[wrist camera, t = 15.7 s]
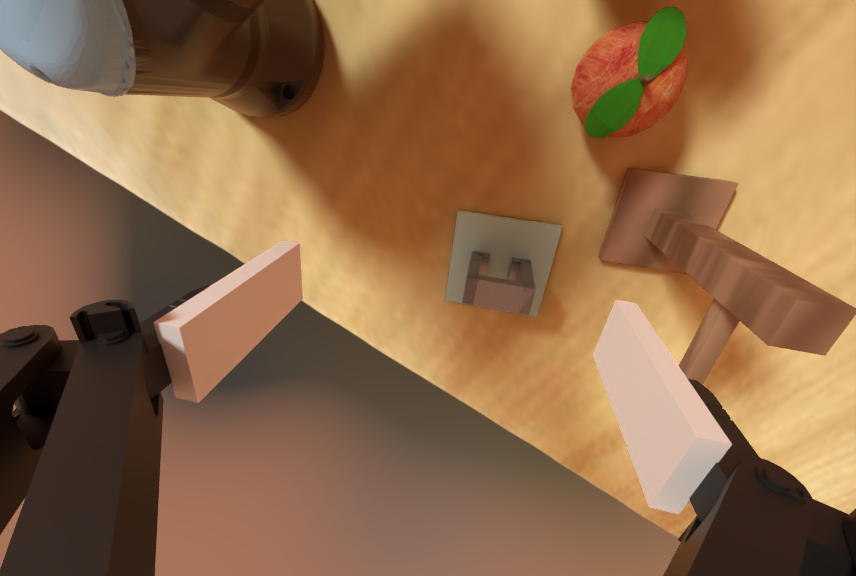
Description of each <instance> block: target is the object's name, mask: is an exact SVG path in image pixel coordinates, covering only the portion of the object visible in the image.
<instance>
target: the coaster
mask: <svg viewBox="0 0 856 576" xmlns="http://www.w3.org/2000/svg"><path fill="white" fill-rule="evenodd" d="M561 231H562V225H557V224H550V223H544V222H537V221H531V220H524V219H517V218H511V217H504V216H497V215H491V214H484V213H478V212H471V211H464V210H458V212H457V219H456V226H455V233H454V240H453V247H452V254H451V261H450V268H449V275H448V282H447V289H446V296H445V301H450V302H456V303H461V304H466V303H462V301H463V295H464V289H465V283H466V277H467V273H468V268H469V264H470V259H471V255H472V251H477V252H483V253H489V254H490V260H489V266H488V271H487V276H489V277H495V278H501V279H507V277H508V273H509V269H510V264H511V260H512V257H513V258H520V259H526V260H531V266H532V271H533V277H534V282H535V288H536V290H535V294H534V298H533V302H532V305H531V309H530V313H529V315H527V316H533V317H537V316H538V312H539V309H540V305H541V301H542V298H543V294H544V291H545V287H546V284H547V280H548V277H549V273H550V270H551V266H552V262H553V259H554V255H555V252H556V248H557V245H558V241H559V238H560V234H561ZM467 305H471V304H467ZM472 306H477V305H472ZM478 307H482V306H478ZM483 308H488V307H483ZM489 309H493V308H489ZM494 310H499V309H494ZM500 311H504V310H500ZM505 312H510V311H505ZM511 313H515V312H511ZM516 314H521V313H516ZM522 315H526V314H522Z"/></svg>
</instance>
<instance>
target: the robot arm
mask: <svg viewBox="0 0 856 576" xmlns="http://www.w3.org/2000/svg"><path fill="white" fill-rule="evenodd" d="M0 49H1V50H2V51H3V52H4V53H5V54H6V55H7V56H8V57H10V58H11V59H12V60H13V61H15V62H16V63H17V64H18V65H20V66H21V67H22V68H24V69H25V70H27V71H28V72H30V73H32V74H33V75H35V76H37V77H39V78H40V79H42V80H44V81H46V82H49V83H53V84H55V85H57V86H61V87H64V88H68V89H74V90H83V91H91V92H98V93H101V94H104V95H106V96H119V95H120V96H122V95H123V94H130V95H158V96H183V97H209V98H211V99H213V100H215V101H217V102H219V103H221V104H222V105H224V106H226V107H228V108H230V109H232V110H234V111H236V112H238V113H241V114H244V115H248V116H253V117H279V116H283V115H286V114H289V113H291V112H293V111H295V110H296V109H298V108H299V107H300V106H301V105H303V104H304V103H305V102H306V100H307V99H308V98H309V97H310V95H311V94H312V92H313V90H314V89H315V87H316V84H317V82H318V79H319V76H320V73H321V69H322V63H323V34H322V28H321V23H320V19H319V16H318V12H317V9H316V7H315V4H314V2H313V0H0ZM302 299H303V296H302V278H301V261H300V244H299V243H296V242H290V241H285V240H282V241H280V242H279V243H277V244H276V245H274V246H273V247H271V248H269V249H268V250H266V251H265V252H263V253H262V254H260V255H258V256H257V257H255V258H254V259H252V260H251V261H249V262H247V263H246V264H244V265H243V266H241V267H240V268H238V269H236V270H235V271H234V272H232V273H230V274H229V275H227V276H226V277H224V278H222V279H221V280H219V281H218V282H216V283H215V284H213V285H211V286H205V287H202V288H200V289H197V290H194V291H191V292H190V293H188V294H187V295H185V296H183V297H182V298H180V300H177V301H175V302H174V303H172V304H171V305H170V306H167V307H165V308H164V309H162V310H161V311H159V312H157V313H156V314H154V315H153V316H151V317H149V318H148V319H146V320H144V321H143V322H141V323H139V321H138V318H137V315H136V312H135V309H134V306H133V304H132V303H130V302H128V301H124V300H106V301H101V302H97V303H93V304H90V305H87V306H84V307H82V308H80V309H78V310H77V311H75V312H74V313H73V314H72V315H71V316H70V319H71V322H72V324H73V327H74V329H75V331H76V334H77V336H78V338H79V340H76V341H75V340H69V341H59V339H58V337H57V335H56V333H55V331H54V329H53V328H52V327H50V326H47V325H33V326H22V327H18V328H14V329H10V330H8V331H6V332H4V333H1V334H0V534H1V533H2V531H3V530H4V528H5V527H6V525H7V524H8V522H9V521H10V519H11V518H12V516H13V515H14V513H15V512H16V510H17V509H18V507H19V506H20V504H21V503H22V501H23V500H24V498H25V497H26V498H25V501H24V504H23V507H22V509H21V512H20V515H19V518H18V521H17V524H16V526H15V529H14V532H13V535H12V538H11V540H10V543H9V546H8V549H7V552H6V555H5V558H4V560H3V563H2V566H1V569H0V576H155V557H156V538H157V537H156V536H157V517H158V498H159V477H160V457H161V439H162V419H163V397H162V394H161V391H162V390H163V389H164V388H166V387H167V386H168V385H169V384H170V383H171V384H172V387H173V391H174V394H175V397H176V398H180V399H184V400H188V401H193V402H197V403H199V402H200V401H201V400H202V399H203V398H204V397H205V396H206V395H207V394H208V393H209V392H210V391H211V390H212V389H213V388H214V387H215V386H216V385H217V384H218V383H219V381H221V379H223V378H224V377H225V376H226V375H227V374H228V373H229V372H230V371H231V370H232V369H233V368H234V367H235V366H236V364H238V363H239V362H240V361H241V360H242V359H243V358H244V357H245V356H246V355H247V354H248V353H249V352H250V351H251V350H252V349H253V348H254V347H255V346H256V345H257V344H258V343H259V342H260V341H261V340H262V339H263V338H264V337H265V336H266V335H267V334H268V332H270V331H271V330H272V329H273V328H274V327H275V326H276V325H277V324H278V323H279V322H280V321H281V320H282V319H283V318H284V317H285V316H286V315H287V314H288V313H289V312H290V311H291V310H292V309H293V308H294V307H295V306H296V305H297V303H299V302H300V301H301V300H302ZM593 357H594V360H595V363H596V365H597V368H598V371H599V374H600V376H601V379H602V382H603V384H604V387H605V390H606V392H607V395H608V398H609V401H610V403H611V406H612V409H613V411H614V414H615V417H616V420H617V422H618V425H619V428H620V430H621V433H622V436H623V438H624V441H625V444H626V447H627V449H628V452H629V455H630V457H631V460H632V463H633V466H634V468H635V471H636V474H637V476H638V479H639V482H640V485H641V487H642V490H643V493H644V495H645V498H646V501H647V503H648V506H649V508H653V509H658V510H662V511H666V512H671V513H675V514H680V513H681V511H682V510H683V509H684V507H685V506H686V505H687V503H688V502H689V501H690V502H691V504H692V506H693V508H694V510H695V512H696V514H697V516H696V518H695V519H694V520H693V521H692V523H691V524H690V525H689V526H688V528H687V529H686V530H685V531H684V533H683V534H682V535H681V536H680V538H679V539H678V540H679V541H680V542H681V543H680V545H679V547H678V549H677V551H676V553H675V555H674V556H673V558H672V561H671V562H670V564H669V566H668V568H667V570H666V572H665V574H664V575H663V576H856V509H855V510H854V511H853V512H852V513H851V514H846V513H844V512H842V511H839V510H837V509H835V508H833V507H830V506H828V505H826V504H823V503H821V502H819V501H816V500H814V499H812V497H811V495H810V494H809V492H808V491H807V489H806V488H805V486H804V485H803V484H801V483H800V482H799V481H798V480H797V479H796V478H795V477H794V476H793V475H791V474H790V473H789V472H787V471H786V470H784V469H783V468H781V467H780V466H778V465H776V464H774V463H772V462H770V461H768V460H765V459H761V458H760V457H759V456H758V455H757V453H756V452H755V451H754V449H753V448H752V446H751V445H750V444H749V442H748V441H747V440H746V438H745V437H744V436H743V434H742V433H741V431H740V430H739V429H738V427H737V426H736V425H735V423H734V422H733V421H731V420H730V416H729V415H728V414H727V412H726V411H725V410H724V409H722V406H721V404H720V403H719V401H718V400H717V399H716V397H715V396H714V395H713V393H712V392H710V391H709V390H708V389H707V388H706V387H704V386H703V385H702V384H701V383H700V382H698V381H697V380H692V379H687V377H686V376H685V374H684V373H683V371H682V370H681V369H680V367H679V366H678V364H677V363H676V361H675V360H674V358H673V357H672V355H671V354H670V352H669V351H668V349H667V348H666V346H665V345H664V344H663V342H662V341H661V339H660V338H659V336H658V335H657V333H656V332H655V330H654V329H653V327H652V326H651V324H650V323H649V322H648V320H647V319H646V317H645V316H644V314H643V313H642V311H641V310H640V308H639V307H638V305H637V304H636V303H632V302H626V301H621V300H615V303H614V305H613V308H612V310H611V312H610V315H609V317H608V320H607V322H606V324H605V327H604V329H603V332H602V334H601V336H600V339H599V341H598V344H597V346H596V348H595V351H594V353H593ZM14 404H15V406H16V407H17V408H16V409H15V410H14V411H13V405H14ZM12 411H13V412H12Z"/></svg>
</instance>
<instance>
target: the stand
mask: <svg viewBox="0 0 856 576" xmlns="http://www.w3.org/2000/svg"><path fill="white" fill-rule="evenodd" d="M737 185H738V183H736V182H732V181H725V180H718V179H710V178H702V177H695V176H687V175H679V174H671V173H664V172H656V171H648V170H641V169H633V168H628V171H627V174H626V177H625V180H624V182H623V185H622V188H621V191H620V194H619V197H618V200H617V203H616V206H615V209H614V212H613V215H612V218H611V220H610V223H609V226H608V229H607V232H606V235H605V238H604V241H603V244H602V247H601V250H600V253H599V256H598V257H599V258H600V260H602V261H609V262H615V263H621V264H627V265H634V266H640V267H646V268H652V269H659V270H665V271H671V272H677V273H684V274H688V275H689V276H690V277H691V278H692V279H693V280H695V281H696V282H697V283H698V284H699V285H700V286H701V287H702V288H704V289H705V290H706V291H707V292H708V293H709V294H710V295H711V296H713V297H714V300H713V302H712V304H711V306H710V308H709V310H708V311H707V313H706V315H705V317H704V319H703V321H702V323H701V325H700V327H699V328H698V330H697V332H696V334H695V336H694V338H693V340H692V342H691V344H690V345H689V347H688V349H687V351H686V353H685V355H684V357H683V359H682V361H681V362H680V364H679V367H680V369H681V370H682V371H683V373H684V374H685V376H686V377H687V379H692V380H697V381H698V382H700V383H701V384H703V382H704V381H705V379H706V377H707V376H708V374H709V372H710V370H711V369H712V367H713V365H714V364H715V362H716V360H717V358H718V357H719V355H720V353H721V352H722V350H723V348H724V346H725V345H726V343H727V341H728V340H729V338H730V336H731V334H732V333H733V331H734V329H735V328H736V326H737V324H738V322H739V321H741V322H742V323H743V324H744V325H745V326H746V327H748V328H749V329H750V330H751V331H752V332H753V333H754V334H755V335H757V336H758V337H759V338H760V339H761V340H762V341H763V342H764V343H766V344H767V345H769V346H775V347H780V348H786V349H791V350H797V351H803V352H808V353H814V354H820V355H826V354H827V352H828V351H829V350H830V348H831V347H832V346H833V344H834V343H835V342H836V340H837V339H838V338H839V336H840V335H841V334H842V332H843V331H844V330H845V328H846V327H847V326H848V324H849V323H850V322H851V320H852V319H853V318H854V316H855V315H856V308H854V307H852V306H851V305H849V304H847V303H845V302H844V301H842V300H840V299H838V298H836V297H835V296H833V295H831V294H829V293H827V292H826V291H824V290H822V289H820V288H819V287H817V286H815V285H813V284H811V283H810V282H808V281H806V280H804V279H802V278H801V277H799V276H797V275H795V274H794V273H792V272H790V271H788V270H786V269H785V268H783V267H781V266H779V265H777V264H776V263H774V262H772V261H770V260H769V259H767V258H765V257H763V256H761V255H760V254H758V253H756V252H754V251H752V250H751V249H749V248H747V247H745V246H744V245H742V244H740V243H738V242H736V241H735V240H733V239H731V238H729V237H727V236H726V235H724V234H722V233H720V232H719V231H717V230H716V229H717V227H718V225H719V222H720V220H721V218H722V216H723V214H724V212H725V210H726V208H727V206H728V204H729V202H730V200H731V198H732V196H733V194H734V191H735V189H736V187H737Z"/></svg>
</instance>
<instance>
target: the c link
mask: <svg viewBox="0 0 856 576" xmlns="http://www.w3.org/2000/svg"><path fill="white" fill-rule="evenodd" d="M489 260H490V254H489V253H483V252H477V251H472V255H471V259H470V264H469V268H468V273H467V277H466V283H465V289H464V295H463V301H462V303H466V304H471V305H477V306H482V307H488V308H493V309H499V310H504V311H510V312H515V313H521V314H526V315H529V313H530V309H531V305H532V302H533V298H534V294H535V290H536V288H535V282H534V277H533V271H532V266H531V260H526V259H520V258H513V257H512V260H511V264H510V269H509V273H508V277H507V279H501V278H495V277H489V276H487V271H488V266H489Z"/></svg>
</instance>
